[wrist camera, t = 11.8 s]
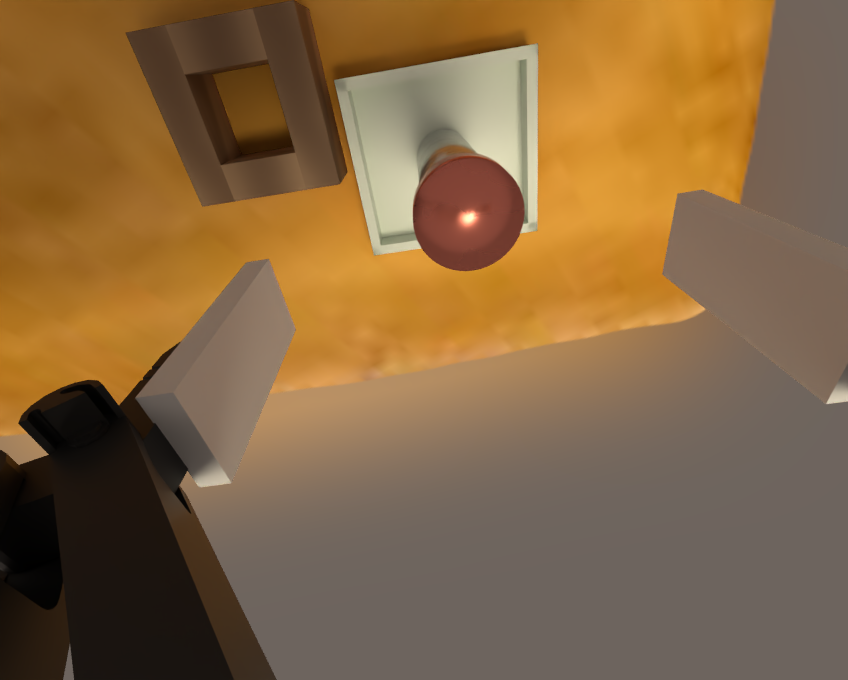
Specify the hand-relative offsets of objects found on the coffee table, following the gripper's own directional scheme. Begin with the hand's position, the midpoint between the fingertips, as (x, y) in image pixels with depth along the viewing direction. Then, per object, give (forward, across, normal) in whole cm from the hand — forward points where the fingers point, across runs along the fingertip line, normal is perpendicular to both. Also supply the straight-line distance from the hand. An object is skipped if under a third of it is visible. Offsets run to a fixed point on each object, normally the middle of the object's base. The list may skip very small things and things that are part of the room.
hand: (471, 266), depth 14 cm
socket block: (+21, -12, +5) cm, 25 cm away
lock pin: (+20, +1, 0) cm, 20 cm away
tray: (+21, +1, 0) cm, 21 cm away
